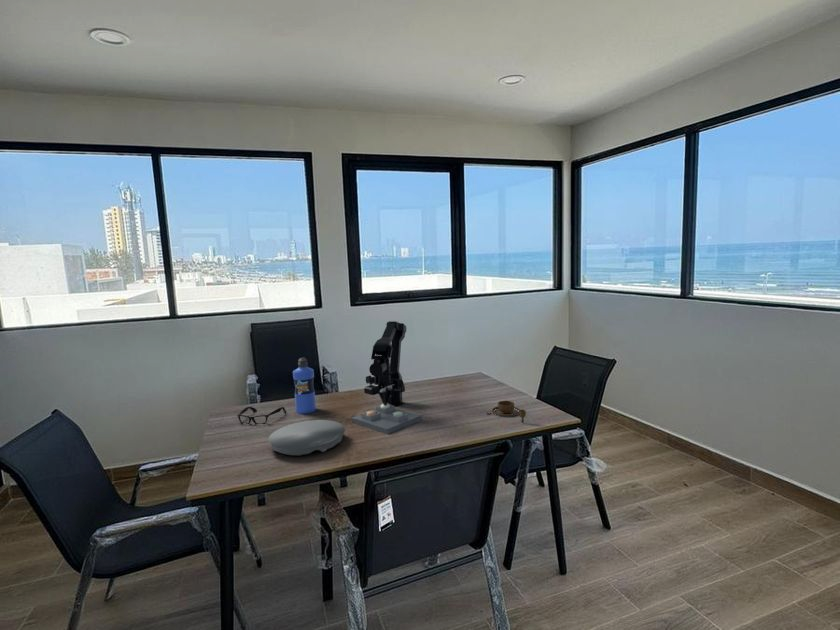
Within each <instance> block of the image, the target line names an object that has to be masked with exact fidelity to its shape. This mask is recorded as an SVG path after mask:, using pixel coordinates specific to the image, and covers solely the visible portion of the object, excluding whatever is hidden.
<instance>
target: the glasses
mask: <svg viewBox="0 0 840 630" xmlns="http://www.w3.org/2000/svg"><path fill="white" fill-rule="evenodd" d="M248 409H250V410H251V411H252V412H253V413H256V412H258V410H257V409H256V408H255V407H252V406H247V407H245V408H244V409H242V410H241V411H240V412H239V413H238V414H237V417H238V420H239V422H240V423H241V424H243V423H244V422H243V421H242V420H241V417H244V418H245V417H246V418H248V422H245V423H246V425H250V424H251V422H253V423H254V424H255V425H263V424H264V425H265V424H266V423H267V422H268V418H269V417H270V416H272V415H274V414H277V413H280V412H281V411H283V413H285V412H286V411H287V410H286V408H285V407H284V406H281V407H278V408H276V409H274V411H271V412H269V413H267V414H262V415H261V414H260V415H255V416H248V415H244V413H246V412H247V411H248ZM255 411H256V412H255ZM260 417H264V418H265V421H264V422H262V423H258V422H257V421H256V420H255V418H260Z"/></svg>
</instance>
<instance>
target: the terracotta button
mask: <svg viewBox="0 0 840 630" xmlns="http://www.w3.org/2000/svg"><path fill="white" fill-rule="evenodd" d="M365 412H366V415H369V416H372V415H375V414H376V411H371V410H368V411H365Z"/></svg>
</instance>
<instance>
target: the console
mask: <svg viewBox="0 0 840 630" xmlns="http://www.w3.org/2000/svg"><path fill="white" fill-rule="evenodd" d="M381 405H382V404H380V405H377V406H375V409H373V410H372V409H370V411H376V414H375V415H372V416H369V415H366V412H367V411H365V412H363V413H361V414H359V415H355V416H352V417H351V423H352V424H356V425H359V426H362V427H365V428H368V429H370V430H374V431H377V432H380V433H383V434H386V435H389V434H392V433H393V432H396V431H397V430H401V429H403V428H405V427H408V426H410V425H412V424H415V423H417V422H420V421H422V419H423V418H422V415H421V414H417V413H414V412H410V411H406V410H404V409H400V408H396V406H393V405H390V407H388V408H386V409H384V408H381ZM398 411H399V412H403V415H401V416H399V417H396V416H393V413H394V412H398Z"/></svg>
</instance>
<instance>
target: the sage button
mask: <svg viewBox="0 0 840 630" xmlns="http://www.w3.org/2000/svg"><path fill="white" fill-rule="evenodd" d="M401 415H403V412H399V411H398V412H394V413H393V416H396V417H399V416H401Z"/></svg>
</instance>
